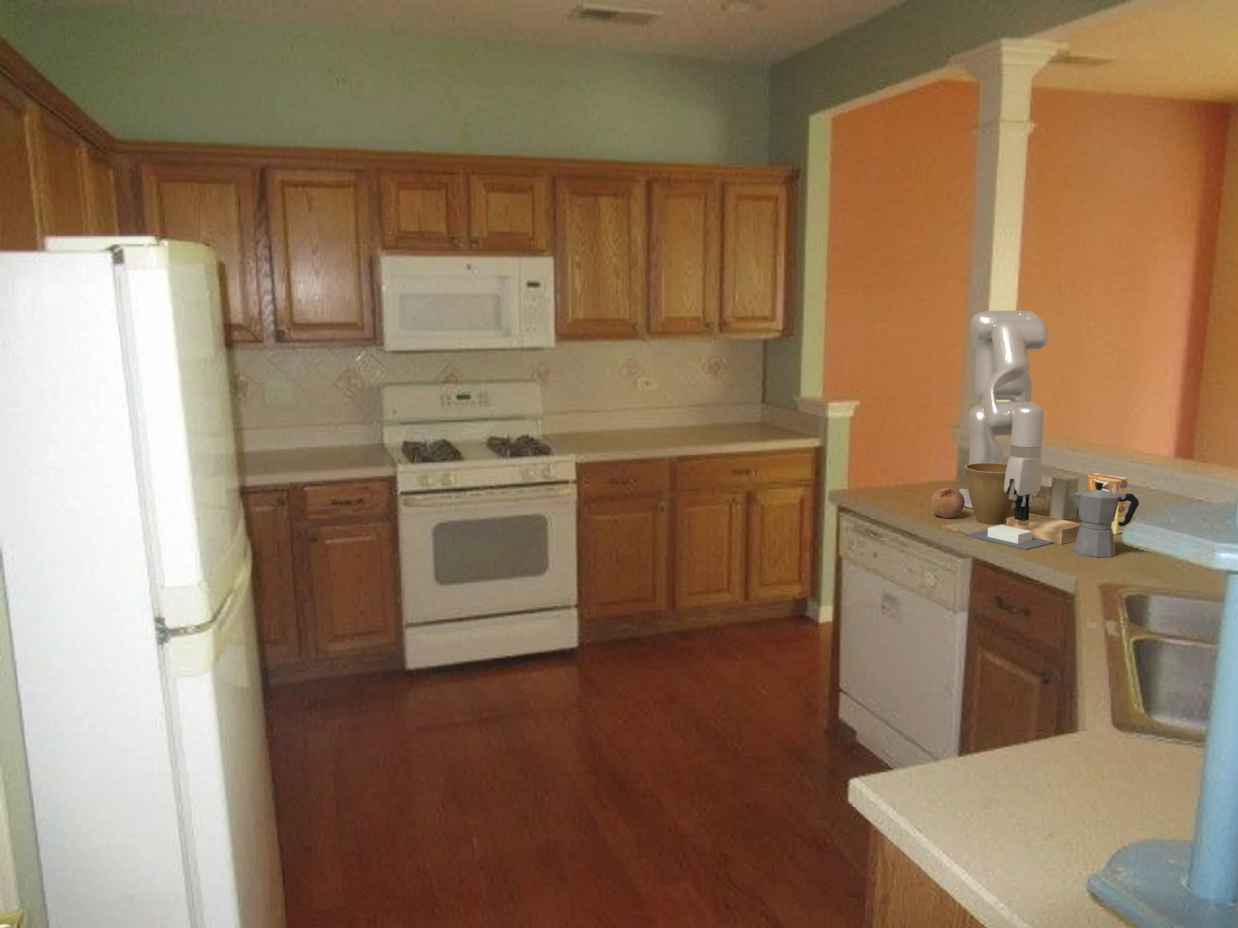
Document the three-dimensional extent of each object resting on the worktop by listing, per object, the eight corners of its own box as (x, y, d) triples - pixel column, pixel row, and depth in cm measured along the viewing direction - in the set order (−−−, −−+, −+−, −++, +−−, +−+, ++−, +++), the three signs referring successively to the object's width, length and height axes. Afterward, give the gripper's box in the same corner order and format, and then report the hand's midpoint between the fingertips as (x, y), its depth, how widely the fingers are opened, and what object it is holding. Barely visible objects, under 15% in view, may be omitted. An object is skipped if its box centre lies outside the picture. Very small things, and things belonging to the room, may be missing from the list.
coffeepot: (1066, 555, 219) (1072, 484, 216) (1062, 546, 228) (1067, 477, 225) (1137, 561, 214) (1144, 488, 211) (1130, 551, 223) (1136, 481, 220)
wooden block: (1006, 532, 243) (1006, 517, 242) (1028, 527, 248) (1029, 513, 247) (1061, 544, 229) (1062, 529, 229) (1083, 538, 235) (1084, 524, 234)
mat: (965, 535, 240) (965, 534, 240) (993, 529, 246) (993, 528, 246) (1025, 550, 225) (1025, 548, 225) (1053, 542, 231) (1053, 541, 231)
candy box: (1124, 532, 241) (1128, 477, 238) (1115, 535, 238) (1120, 479, 236) (1091, 526, 248) (1096, 472, 245) (1083, 528, 246) (1087, 474, 243)
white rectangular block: (1001, 524, 240) (1001, 533, 241) (987, 527, 237) (987, 536, 238) (1032, 531, 233) (1031, 540, 233) (1018, 534, 230) (1017, 543, 230)
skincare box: (1063, 515, 262) (1066, 474, 259) (1076, 518, 258) (1079, 477, 256) (1048, 517, 259) (1051, 476, 257) (1062, 520, 255) (1065, 479, 253)
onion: (948, 529, 258) (949, 503, 253) (923, 515, 265) (923, 489, 260) (971, 515, 262) (972, 488, 256) (945, 501, 269) (946, 475, 263)
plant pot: (957, 515, 263) (960, 462, 261) (1010, 516, 261) (1014, 463, 258) (968, 527, 249) (971, 471, 246) (1024, 528, 246) (1028, 472, 244)
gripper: (1030, 447, 241) (1025, 513, 244) (995, 453, 234) (991, 520, 237) (1055, 451, 235) (1051, 518, 238) (1021, 456, 227) (1016, 526, 230)
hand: (1021, 519), depth 237 cm, fingers closed
